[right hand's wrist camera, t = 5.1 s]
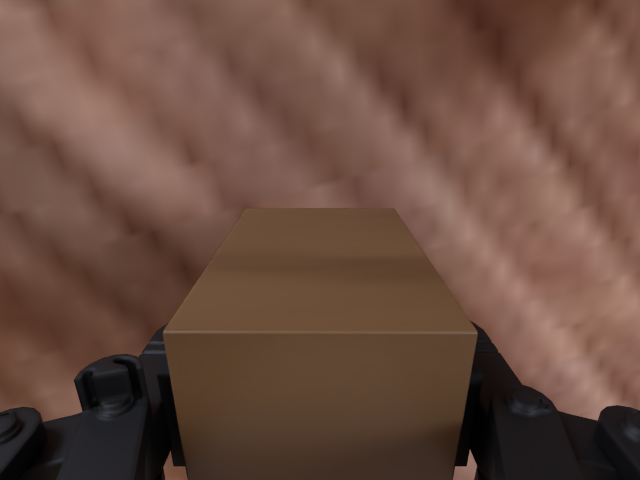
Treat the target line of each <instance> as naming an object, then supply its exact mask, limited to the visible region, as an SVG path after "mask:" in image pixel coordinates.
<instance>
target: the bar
mask: <svg viewBox="0 0 640 480" xmlns="http://www.w3.org/2000/svg"><path fill="white" fill-rule="evenodd" d="M477 335H478V332H477V330H476V328H475V327H474V326H473V324H472V323H471V321H470V320H469V318H468V317H467V315H466V314H465V312H464V311H463V309H462V308H461V306H460V305H459V303H458V302H457V300H456V299H455V297H454V296H453V294H452V293H451V291H450V290H449V288H448V287H447V286H446V284H445V283H444V281H443V280H442V278H441V277H440V275H439V274H438V272H437V271H436V269H435V268H434V266H433V265H432V263H431V262H430V260H429V259H428V257H427V256H426V254H425V253H424V251H423V250H422V248H421V247H420V246H419V244H418V243H417V241H416V240H415V238H414V237H413V235H412V234H411V232H410V231H409V229H408V228H407V226H406V225H405V223H404V222H403V220H402V219H401V217H400V216H399V214H398V213H397V211H396V210H395V209H394V208H246V209H245V210H244V212H243V213H242V215H241V216H240V218H239V219H238V221H237V222H236V224H235V225H234V227H233V228H232V230H231V231H230V233H229V234H228V236H227V237H226V239H225V240H224V242H223V243H222V245H221V246H220V248H219V249H218V251H217V252H216V253H215V255H214V256H213V258H212V259H211V261H210V262H209V264H208V265H207V267H206V268H205V270H204V271H203V273H202V274H201V276H200V277H199V279H198V280H197V282H196V283H195V285H194V286H193V288H192V289H191V291H190V292H189V294H188V295H187V297H186V298H185V300H184V301H183V302H182V304H181V305H180V307H179V308H178V310H177V311H176V313H175V314H174V316H173V317H172V319H171V320H170V322H169V323H168V325H167V326H166V328H165V329H164V331H163V338H164V344H165V350H166V356H167V361H168V367H169V373H170V379H171V385H172V391H173V397H174V402H175V408H176V414H177V420H178V426H179V432H180V437H181V443H182V449H183V455H184V461H185V467H186V472H187V478H188V480H453V475H454V469H455V463H456V457H457V452H458V446H459V440H460V434H461V428H462V423H463V417H464V411H465V405H466V399H467V394H468V388H469V382H470V376H471V370H472V365H473V359H474V353H475V347H476V341H477Z"/></svg>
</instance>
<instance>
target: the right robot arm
mask: <svg viewBox="0 0 640 480" xmlns="http://www.w3.org/2000/svg"><path fill="white" fill-rule="evenodd" d="M471 323H472V324H473V326H474V327H475V328H476V330H477V332H478V335H477V341H476V347H475V353H474V359H473V365H472V370H471V376H470V382H469V388H468V394H467V399H466V405H465V411H464V417H463V423H462V428H461V434H460V440H459V446H458V452H457V457H456V463H455V466H467V461H468V456H469V450H471V452H472V455H473V457H474V459H475V462H476V464H477V469H476V474H475V479H474V480H640V411H639V410H636V409H634V408H631V407H624V406H618V405H616V406H609V407H606V408H605V409H603V410H602V411H601V413H600V416H599V419H598V421H596V420H592V419H588V418H583V417H579V416H575V415H571V414H567V413H563V412H560V411H558V410H557V409H556V407H555V406H554V404H553V403H552V401H551V400H549V399H548V398H547V397H546V396H545V395H543V394H542V393H540V392H539V391H537V390H535V389H533V388H531V387H528V386H525V385H522V384H521V382H520V381H519V379H518V378H517V377H516V375H515V374H514V372H513V371H512V369H511V368H510V367H509V365H508V364H507V362H506V361H505V360H504V358H503V357H502V355H501V354H500V353H498V350H497V348H496V347H495V345H494V344H493V343H492V341H491V340H490V338H489V337H488V335H487V334H486V333H485V331H484V330H483V329H482V328H480V327H479V326H477V325H476V324H475V323H473V322H472V321H471ZM167 325H168V323H167V324H166V325H165V326H163V327H162V328H161V329H159V330H158V331H157V332H156V333H155V334H154V336H153V337H152V339H151V340H150V342H149V345H147V346H146V347H145V349H144V350H143V352H142V354H140V356H139V357H137V356H133V355H128V354H122V355H113V356H109V357H105V358H102V359H100V360H98V361H96V362H93V363H91V364H90V365H88V366H87V367H85V368H84V369H83V370H81V371H80V372H79V374H78V375H77V376H76V378H75V379H74V382H75V386H76V389H77V393H78V396H79V400H80V403H81V407H82V413H79V414H75V415H72V416H68V417H63V418H59V419H55V420H51V421H46V422H43V421H42V418H41V415H40V413H39V412H38V411H37V410H36V409H34V408H28V407H20V408H14V409H9V410H6V411H3V412H0V480H165V475H164V469H163V466H164V464H165V462H166V459H167V457H168V455H169V452H170V450H171V454H172V460H173V465H174V466H185V461H184V455H183V449H182V443H181V437H180V432H179V426H178V420H177V414H176V408H175V402H174V397H173V391H172V385H171V379H170V373H169V367H168V361H167V356H166V350H165V344H164V338H163V331H164V329H165V328H166V326H167Z"/></svg>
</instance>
